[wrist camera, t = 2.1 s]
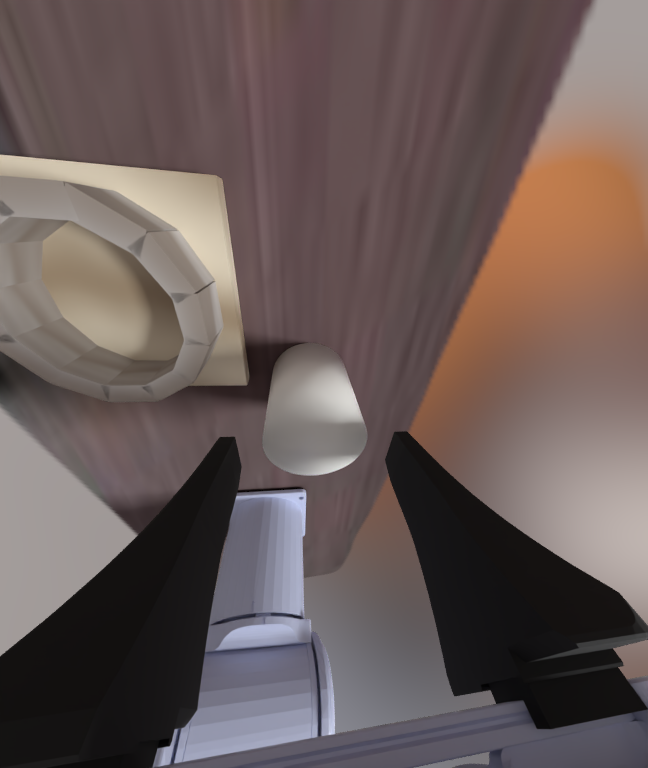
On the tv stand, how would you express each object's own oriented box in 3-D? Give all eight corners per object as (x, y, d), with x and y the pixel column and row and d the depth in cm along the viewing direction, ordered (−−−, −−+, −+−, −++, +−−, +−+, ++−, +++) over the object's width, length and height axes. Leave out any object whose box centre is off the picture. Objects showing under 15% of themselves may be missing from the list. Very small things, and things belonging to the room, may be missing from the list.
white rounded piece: (341, 404, 18) (359, 472, 13) (274, 405, 17) (266, 477, 12) (349, 343, 15) (375, 401, 10) (270, 342, 14) (257, 403, 9)
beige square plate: (249, 376, 16) (239, 411, 13) (82, 377, 14) (29, 415, 11) (222, 179, 10) (192, 161, 7) (-56, 153, 9) (-227, 118, 6)
